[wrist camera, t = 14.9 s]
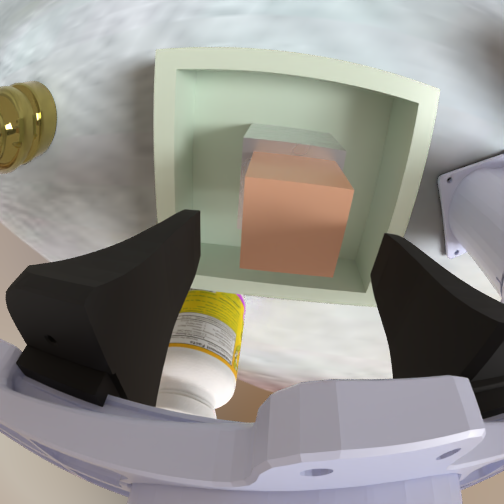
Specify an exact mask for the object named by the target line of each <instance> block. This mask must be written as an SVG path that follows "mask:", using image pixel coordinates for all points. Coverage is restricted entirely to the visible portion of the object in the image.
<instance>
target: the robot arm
mask: <svg viewBox="0 0 504 504" xmlns="http://www.w3.org/2000/svg"><path fill="white" fill-rule="evenodd" d="M449 177H450V180H449V181H448V182H447V179H448V178H449ZM438 188H439V194H440V200H441V208H442V215H443V224H444V234H445V245H446V255H447V257H448V258H450V259H452V258H454V257H457V256H459V255H462V254H464V253H466V252H468V254H469V255H470V256H471V257H472V259H473V260H474V261H475V262H476V264H477V265H478V266H479V268H480V269H481V270H482V272H483V273H484V274H485V276H486V277H487V278H488V280H489V281H490V282H491V284H492V285H493V287H494V288H495V289H496V291H497V292H498V294H499V295H500V297H501V298H502V299H501V302H499V301H497V300H495V299H493V298H491V297H489V296H487V295H485V294H484V293H482V292H480V291H478V290H476V289H475V288H473V287H471V286H470V285H468V284H467V283H465V282H464V281H462V280H460V279H459V278H457V277H456V276H455V275H453V274H452V273H450V272H449V271H448V270H446V269H445V268H443V267H442V266H441V265H439V264H438V263H437V262H435V261H434V260H433V259H432V258H430V257H429V256H428V255H426V254H425V253H424V252H422V251H421V250H420V249H418V248H417V247H416V246H414V245H413V244H412V243H410V242H409V241H407V240H406V239H404V238H403V237H401V236H399V235H395V234H389V233H384V236H383V239H382V242H381V245H380V248H379V251H378V254H377V257H376V260H375V262H374V265H373V268H372V271H371V274H370V277H371V283H372V289H373V294H374V298H375V301H376V304H377V308H378V311H379V314H380V317H381V320H382V324H383V327H384V330H385V333H386V337H387V341H388V345H389V349H390V356H391V363H392V372H393V379H329V380H319V381H309V382H300V383H298V384H295V385H293V386H290V387H287V388H284V389H282V390H279V391H276V392H275V393H273V394H271V395H270V396H269V397H268V398H267V400H266V401H265V402H264V403H263V404H262V405H261V406H260V407H259V409H258V413H257V417H256V422H255V423H245V422H236V421H228V420H220V419H214V418H208V417H202V416H196V415H190V414H185V413H180V412H175V411H170V410H166V409H161V408H157V407H156V402H157V396H158V391H159V386H160V381H161V376H162V371H163V367H164V363H165V359H166V355H167V351H168V347H169V343H170V339H171V336H172V332H173V329H174V326H175V323H176V320H177V318H178V315H179V313H180V311H181V308H182V306H183V304H184V301H185V299H186V297H187V294H188V292H189V290H190V287H191V285H192V283H193V280H194V278H195V275H196V272H197V268H198V264H199V261H200V257H201V232H200V210H188V209H184V210H182V211H180V212H178V213H176V214H174V215H172V216H171V217H169V218H167V219H165V220H164V221H162V222H160V223H158V224H157V225H155V226H153V227H151V228H149V229H147V230H145V231H143V232H141V233H140V234H138V235H136V236H134V237H132V238H130V239H127V240H125V241H123V242H120V243H118V244H115V245H113V246H110V247H108V248H105V249H102V250H99V251H96V252H93V253H90V254H86V255H83V256H79V257H75V258H71V259H66V260H62V261H56V262H50V263H43V264H37V265H29V266H28V267H27V268H26V269H25V270H24V271H23V272H22V274H20V275H19V277H18V278H17V279H16V280H15V281H14V282H13V283H12V284H11V285H10V287H9V288H8V289H7V291H6V304H7V308H8V311H9V313H10V315H11V317H12V319H13V321H14V323H15V325H16V327H17V328H18V330H19V332H20V334H21V335H22V337H23V339H24V341H25V342H26V344H27V346H26V348H25V349H24V351H23V352H22V351H21V350H20V349H18V348H17V347H16V346H14V345H12V344H10V343H8V342H6V341H4V340H2V339H0V432H1V433H3V434H5V435H6V436H7V437H9V438H10V439H12V440H13V441H15V442H17V443H18V444H20V445H21V446H23V447H24V448H26V449H28V450H29V451H31V452H33V453H34V454H36V455H38V456H40V457H41V458H43V459H45V460H47V461H48V462H50V463H52V464H54V465H56V466H58V467H60V468H61V469H63V470H65V471H67V472H69V473H71V474H73V475H76V476H78V477H80V478H82V479H84V480H86V481H88V482H91V483H93V484H95V485H98V486H100V487H102V488H105V489H107V490H110V491H113V492H115V493H118V494H121V495H123V496H126V497H128V501H127V504H463V503H462V495H461V490H463V489H466V488H468V487H470V486H473V485H475V484H477V483H479V482H482V481H484V480H486V479H488V478H490V477H492V476H494V475H496V474H498V473H500V472H502V471H504V154H501V155H498V156H495V157H492V158H489V159H486V160H483V161H480V162H477V163H474V164H471V165H469V166H466V167H463V168H460V169H457V170H454V171H451V172H448V173H445V174H443V175H441V176H439V178H438ZM456 250H457V251H456ZM455 251H456V252H455Z"/></svg>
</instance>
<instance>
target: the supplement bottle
mask: <svg viewBox="0 0 504 504" xmlns="http://www.w3.org/2000/svg"><path fill="white" fill-rule="evenodd" d="M245 309H246V302H245V298H244V295H241V294H233V293H225V292H217V291H209V290H202V289H194V288H190V290H189V292H188V294H187V297H186V299H185V301H184V304H183V306H182V308H181V311H180V313H179V315H178V318H177V320H176V323H175V326H174V329H173V332H172V336H171V339H170V343H169V347H168V351H167V355H166V359H165V363H164V367H163V371H162V376H161V381H160V386H159V391H158V396H157V402H156V407H157V408H161V409H166V410H170V411H175V412H180V413H185V414H190V415H196V416H202V417H208V418H214V419H216V413H215V410H214V409H215V408H218V407H220V406H222V405H224V404H225V403H227V402H228V401H229V400H230V399H231V397H232V396H233V394H234V391H235V385H236V378H237V370H238V363H239V355H240V348H241V341H242V333H243V325H244V318H245Z"/></svg>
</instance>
